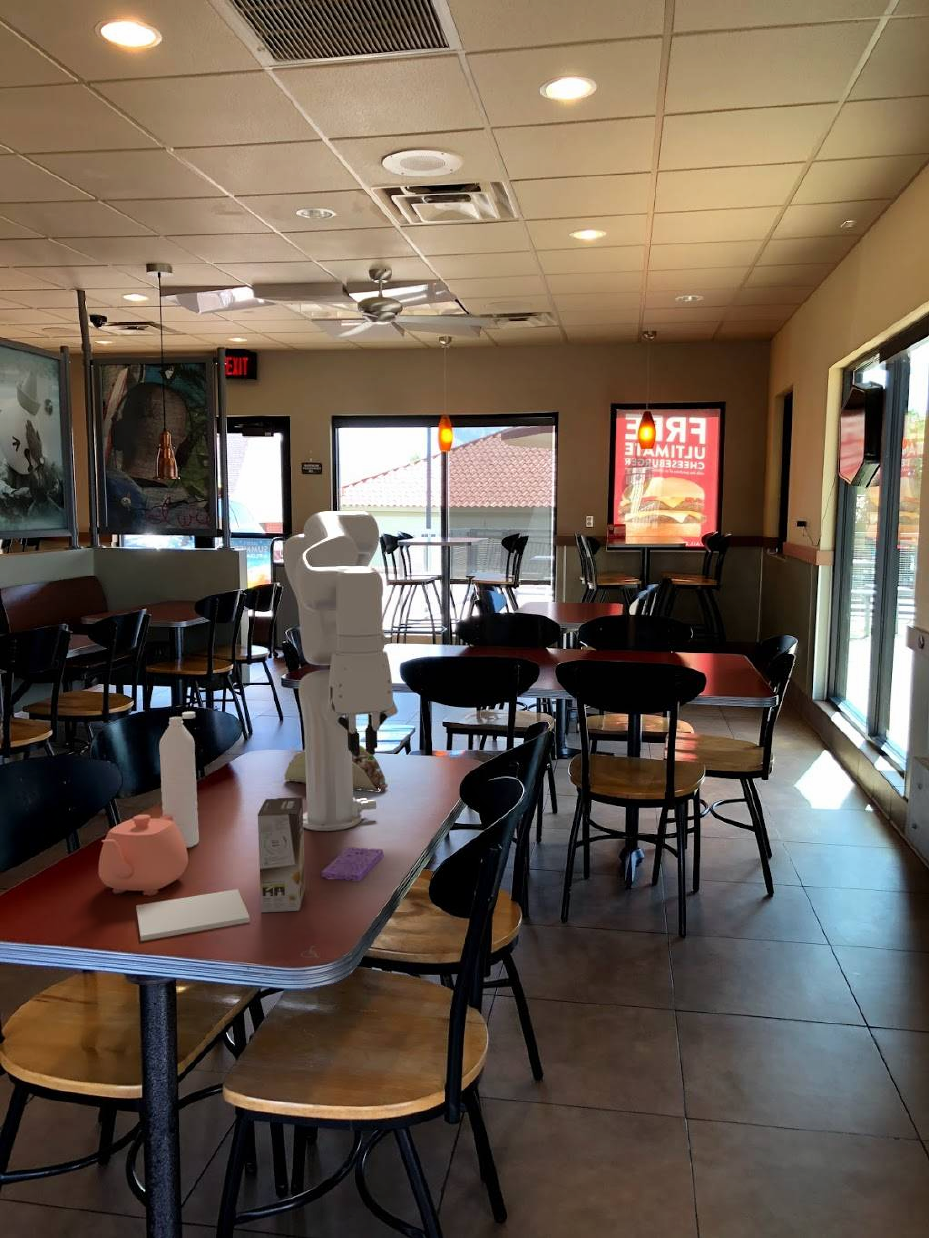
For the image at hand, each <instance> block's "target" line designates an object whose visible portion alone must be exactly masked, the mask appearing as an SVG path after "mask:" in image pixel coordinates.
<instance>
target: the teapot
mask: <svg viewBox="0 0 929 1238" xmlns="http://www.w3.org/2000/svg"><path fill="white" fill-rule="evenodd" d="M101 842H102V843H103V844H102V848H101V851H100V855H99V860H98V876H99V878H100V880H101V882H102V883H103V884H104V885H105V887H109V888H110V889H111V888H112V889H113V890H112V893H113V894H122V893H125V892H127V891H139V892H140V891H142V892H143V894H142V895H143V896H145V895H148V896H147V897H150V896H151V895H152V896H155V895H157V894H158V893H159V889H162V888H165V887H166V886H169V885H170V884H171V883H173V882H175V881H177V879H179V878H180V877H181V876H182V875H183V873H184V872H185V870H186V869H187V866H188V863H189V855H188V850H187V848H186V846H185V843H184V840H183V838H182V835H181V833H180V831H179V830H178V828H177V826H176V824H175V823H174V822H173V816H172V815H171V814H164V815H163V814H162V815H161V816H160V817H158V818H151V815H150V814H138V815H135V816H133V817H132V818H131V819H128V820H125V821H123V822H121V823H119V824H117V825H116V826H114V827H112V828H111V829H109V831H108V832H107V835H106V837H105V839H102V840H101ZM126 890H127V891H126ZM156 893H157V894H156ZM149 895H150V896H149ZM152 896H151V897H152Z"/></svg>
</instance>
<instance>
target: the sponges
mask: <svg viewBox="0 0 929 1238" xmlns="http://www.w3.org/2000/svg"><path fill="white" fill-rule="evenodd" d="M383 851H384V850H383V848H373V847H372V848H370V849H368V848H367V847H361V848H360V847H356V846H355V847H352V846H351V847H350V846H347V847H346V848H345V850H343V852H341V854H339V855H338V856H337V857H336V858H335V859H334V860H333V861H332V862H331V863H330V864H329V865H327V867H326V868H324V869H323V870H322V872H321V873H322V874H321V875H322V876H321V877H324V878H333V879H332V880H334V879H346V880H345V881H349V880H352V882H361V881H362V879H363V878H364V877H366V875H367V874H369V872H370V871H371V870H372V869H373V868H374V866H376V865H377V863H378V862H379V861H380V860H381V859H382V858H383V857H384V852H383ZM324 878H323V879H324Z"/></svg>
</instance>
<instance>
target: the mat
mask: <svg viewBox="0 0 929 1238" xmlns="http://www.w3.org/2000/svg"><path fill="white" fill-rule="evenodd" d="M245 905H246V904H245V903H244V900H243V899H242V896H241V894H240V891H239V889H238V888H236V889H230V890H224V891H218V892H212V893H206V894H200V895H193V896H188V897H187V896H186V897H181V898H175V899H167V900H161V901H155V902H150V903H143V904H137V905H136V908H135V909H136V916H137V923H138V929H139V930H138V931H139V936H140V937H139V939H140V942H144V941H151V940H155V939H160V938H166V937H167V938H168V937H171V936H172V937H173V936H179V935H183V934H190V933H195V932H201V931H207V930H212V929H216V928H224V927H229V926H235V925H241V924H246V923H251V920H250V919H251V918H250V915H249V913H248V910H247V908H246V906H245Z"/></svg>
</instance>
